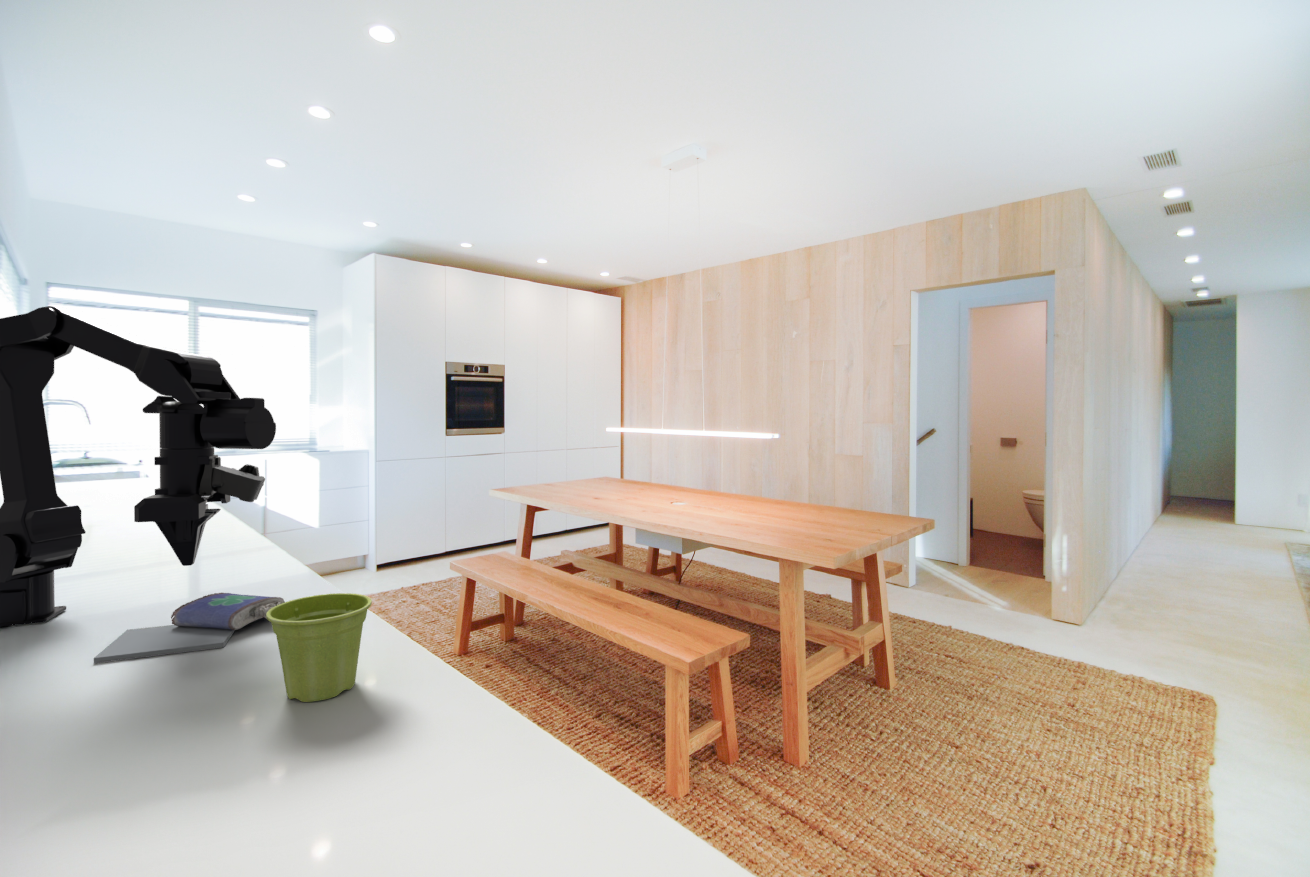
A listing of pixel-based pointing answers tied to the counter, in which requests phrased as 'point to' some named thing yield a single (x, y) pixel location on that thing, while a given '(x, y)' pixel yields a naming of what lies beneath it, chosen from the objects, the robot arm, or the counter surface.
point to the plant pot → (319, 643)
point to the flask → (224, 610)
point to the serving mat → (163, 642)
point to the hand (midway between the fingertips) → (188, 565)
